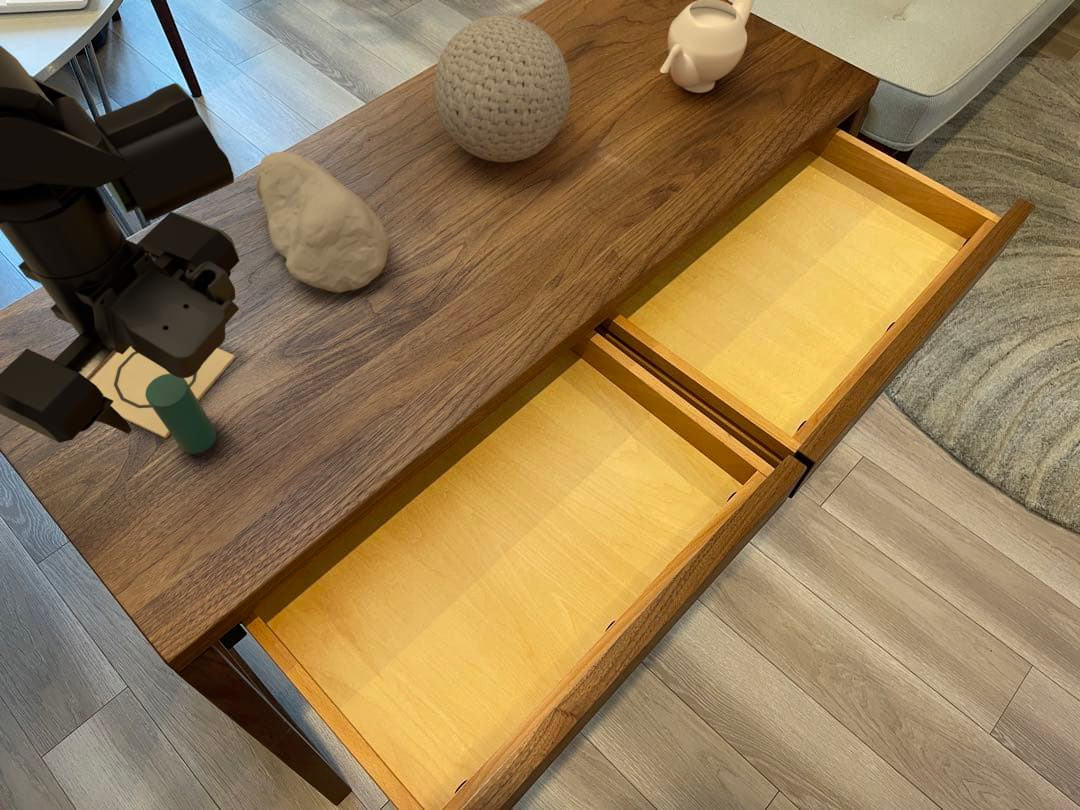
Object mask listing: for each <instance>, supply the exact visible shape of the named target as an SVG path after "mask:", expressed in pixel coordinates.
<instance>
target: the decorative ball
mask: <svg viewBox="0 0 1080 810" xmlns="http://www.w3.org/2000/svg"><path fill="white" fill-rule="evenodd" d="M433 81H434V82H433V94H434V95H433V96H434V102H435V107H436V111H437V114H438V116H439V119H440V121H441V123H442V125H443V127H444V129H445V130H446V132H447V133H448V135H449V136H450V137H451V139H452V141H454V142H455V143H456V144H457V145H458V146H459V147H461V148H462V149H463V150H465V151H466V152H467V153H469V154H471V155H473V156H474V157H477V158H479V159H482V160H485V161H489V162H494V163H495V162H496V163H513V162H518V161H519V162H520V161H523V160H525V159H528V158H530V157H532V156H535V155H536V154H537V153H540V151H543V149H545V147H547V146H548V145H549V144H550V143H551V142H552V141H553V140H554V138H555V137H556V136H557V134H558V133H559V131H560V130H561V129H562V126H563V125H564V123H565V120H566V117H567V115H568V111H569V107H570V103H571V95H572V94H571V89H572V88H571V77H570V72H569V69H568V65H567V62H566V60H565V57H564V55H563V53H562V51H561V49H560V47H559V46H558V45H557V43H556V42H555V41H554V39H553V38H552V36H550V35H549V34H548V33H547V32H545V30H543V29H542V28H541V27H539V26H537V25H536V24H534V23H533V22H530V21H528V20H526V19H524V18H520V17H517V16H512V15H505V14H504V15H503V14H502V15H501V14H499V15H496V14H495V15H489V16H484V17H480V18H479V19H475V20H474V21H472V22H469V23H468V24H467V25H465V26H463V27H462V28H460V29H459V30H458V31H457V32H456V33H455V34H454V35H453V36H452V38H451V39H450V40H449V41H448V43H447V44H446V46H445V47H444V49H443V50H442V52H441V54H440V56H439V59H438V62H437V65H436V68H435V72H434V79H433Z"/></svg>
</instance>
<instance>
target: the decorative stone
mask: <svg viewBox="0 0 1080 810" xmlns="http://www.w3.org/2000/svg"><path fill="white" fill-rule="evenodd" d="M255 182H256V183H255V191H256V195H257V197H258V199H259V200H260V203H261V204H262V206H263V209H264V213H265V214H266V218H267V223H268V233H269V236H270V237H269V238H270V241H271V243H272V246H273V248H274V249H275V250H276V252H277V253H278V254H280V255H281V256H282V257H283V258H285V259H286V261H285V267H286V270H287V271H288V272H289V274H290V275H291V277H292V278H293V279H295V280H297V281H299V282H301V283H303V284H306V285H308V286H311V287H314V288H318V289H321V290H325V291H328V292H333V293H343V292H344V293H345V292H346V291H347V292H348V291H355V290H359V289H361V288H363V287H365V286H367V285H369V284H370V283H371V282H372V281H373V280H374V279H375V278H377V277H378V276H379V275H380V273H381V272H382V271H383V270H384V268H385V266H386V263H387V258H388V252H389V249H390V245H391V242H390V237H389V235H388V232H387V230H386V228H385V226H384V224H383V222H382V221H381V220H380V218H379V216H378V215H377V214H376V213H375V212H374V210H372V208H371V207H369V206H368V204H366V202H365V201H364V200H363V199H362V198H360V197H359V196H358V195H357V194H355V192H353V191H352V190H350V189H349V188H348V187H346V186H345V185H344V184H342V183H341V182H340V181H339V180H338V179H337V178H336V177H335V176H333V175H332V174H331V172H329V171H328V170H327V169H326V168H325V167H324V166H322V165H321V164H319V163H317V162H316V161H314V160H312V159H310V158H308V157H305V156H302V155H300V154H296V153H294V152H291V151H275V152H271V153H270V154H267V155H264V157H263V158H262V159H261V161H260V163H259V166H258V168H257V172H256V180H255Z"/></svg>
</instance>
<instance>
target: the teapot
mask: <svg viewBox="0 0 1080 810" xmlns="http://www.w3.org/2000/svg"><path fill="white" fill-rule="evenodd" d="M754 3H755V0H734V1H733V3H732V4H730V3H728V2H726V1H723V0H695V1H693V2H690V4H688V5H687V6H686V7H684V8H683V9H682V11H680V13H679V14H678V15H676V17H675V18H674V19H673V20H672V22H671V23H670V25H669V29H668V31H667V42H666V43H667V51H668V56H667V58H666V59H665V61H664V63H663V64H662V66H661V67H660V70H659V72H660V73H661V74H666V73H668V72H669V74H670V77H671V79H672V81H673V82H674V83H675V84H676V85H677V86H678V87H681V88H683V89H684V90H686V91H688V92H691V93H698V94H699V93H707V92H709V91H711V90H712V89H714V87H715V85H716V82H717V81H719V80H720V79H722V78H724V77H725V76H727V75H728V74H730V73H731V71H733V70H734V68H735V67H736V66H737V65H738V63H740V61H741V59H742V57H743V56H744V54H745V51H746V48H747V44H748V33H747V30H746V25H747V22H748V19H749V17H750V15H751V11H752V8H753V5H754Z"/></svg>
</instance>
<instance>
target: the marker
mask: <svg viewBox="0 0 1080 810" xmlns="http://www.w3.org/2000/svg"><path fill="white" fill-rule="evenodd" d="M145 396H146V399H147V401H148V402H149V404H150V405H151V407H152V408H153V409H154V411H155V412H156V414H157V415H158V416H159V418H160V419H161V421H162V422H163V424H164V425H165V426H166V428H167V429H168V431H169V432H170V433H171V434H170V435H171V436H172V438H173V439H174V441H175V442H176V444H177V445H178V446H179V447H180V449H181V450H182V451H183V452H185V453H189V455H191V456H196V457H201V456H206V455H207V454H209V453H210V452H211V451H213V450H214V449H215V447H216V444H217V430H216V427H215V426H214V424H213V422H212V421H211V419H210V418H209V416H208V414H207V413H206V412H205V409H204V408H203V406H202V405H201V403H200V402H199V401H198V400H197V398H196V397H195V395H194V393H193V392H192V390H191V388H190V387H189V385H188V383H187V382H186V380H185V379H184V378H179V377H176V376H174V375H172V374H164V375H161V376H159V377H157V378H155V379H154V380H153V381H152V382H150V384H149V385H148V387H147V389H146V393H145Z"/></svg>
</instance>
